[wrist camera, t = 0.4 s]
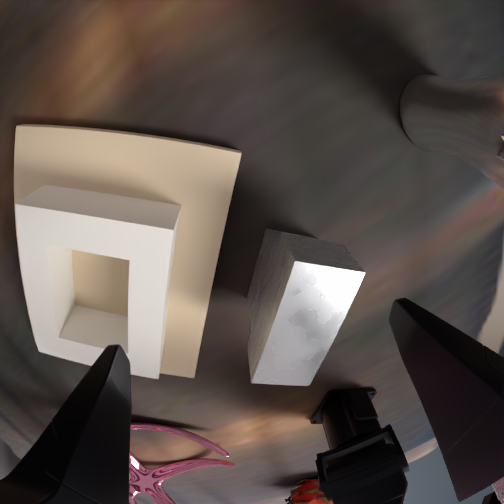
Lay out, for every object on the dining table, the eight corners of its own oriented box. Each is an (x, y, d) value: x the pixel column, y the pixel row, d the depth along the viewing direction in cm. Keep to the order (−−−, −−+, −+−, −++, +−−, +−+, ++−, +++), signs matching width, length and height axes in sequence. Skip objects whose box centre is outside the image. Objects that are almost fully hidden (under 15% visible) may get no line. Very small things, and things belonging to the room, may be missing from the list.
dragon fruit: (346, 467, 48) (285, 471, 49) (358, 476, 41) (288, 481, 41) (343, 503, 44) (282, 507, 45) (354, 516, 37) (285, 522, 37)
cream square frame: (194, 368, 28) (192, 412, 23) (40, 336, 25) (20, 373, 20) (240, 150, 20) (247, 166, 15) (24, 123, 17) (-19, 135, 12)
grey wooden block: (288, 318, 26) (309, 385, 20) (242, 312, 26) (251, 383, 19) (324, 220, 22) (365, 272, 16) (271, 208, 22) (295, 260, 15)
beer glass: (408, 168, 21) (567, 264, 8) (380, 80, 18) (571, 97, 5) (468, 141, 20) (616, 207, 7) (448, 61, 17) (614, 80, 4)
